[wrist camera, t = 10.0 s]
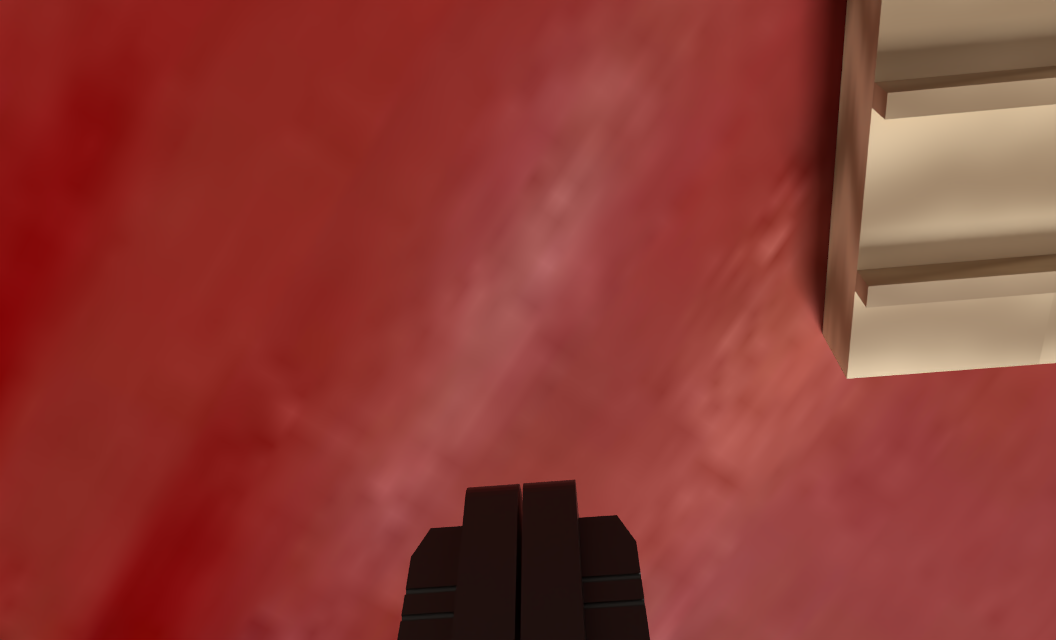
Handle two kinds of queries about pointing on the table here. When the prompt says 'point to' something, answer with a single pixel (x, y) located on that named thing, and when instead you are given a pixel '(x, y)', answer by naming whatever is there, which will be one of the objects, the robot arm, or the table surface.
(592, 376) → the table surface
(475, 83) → the table surface
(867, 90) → the wooden stepped tray
